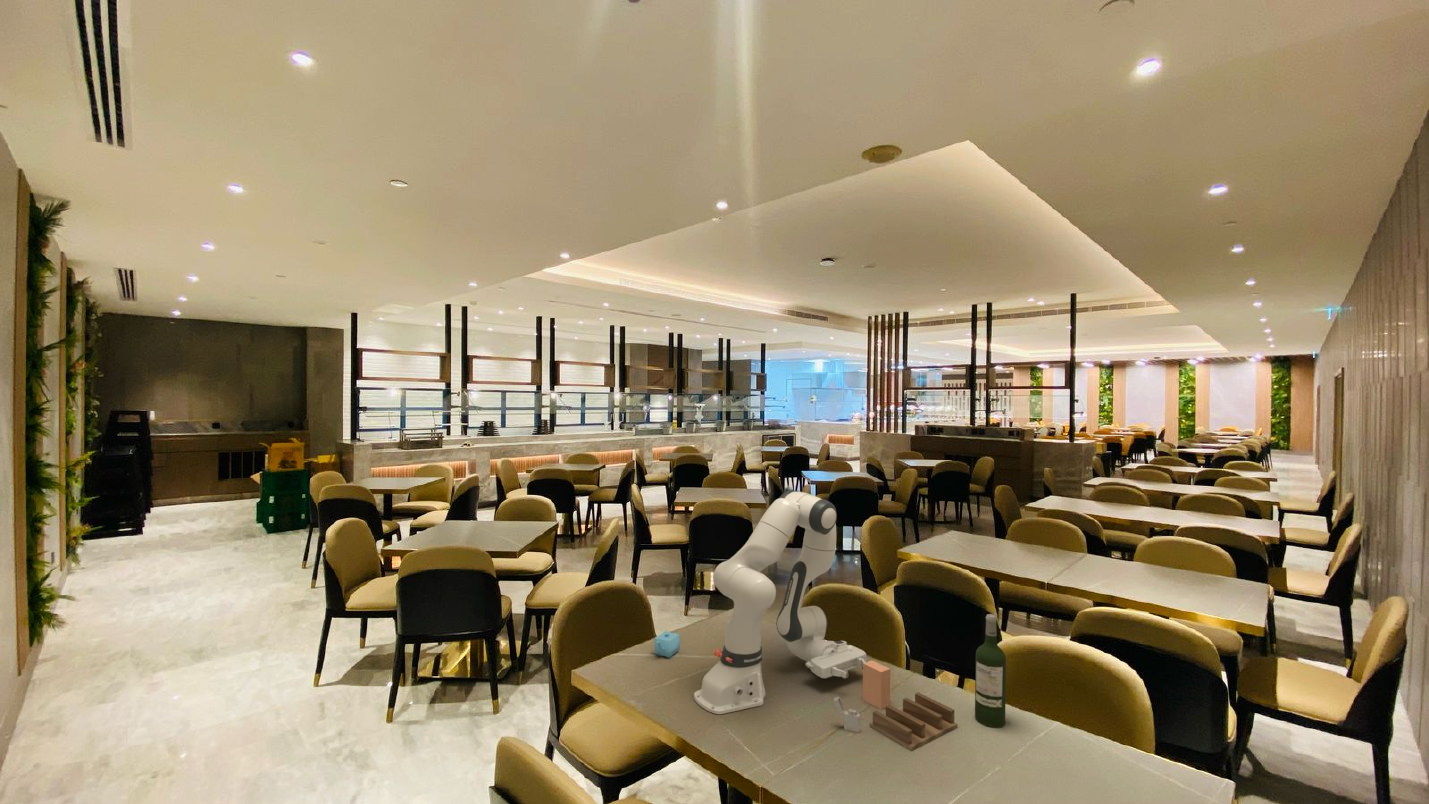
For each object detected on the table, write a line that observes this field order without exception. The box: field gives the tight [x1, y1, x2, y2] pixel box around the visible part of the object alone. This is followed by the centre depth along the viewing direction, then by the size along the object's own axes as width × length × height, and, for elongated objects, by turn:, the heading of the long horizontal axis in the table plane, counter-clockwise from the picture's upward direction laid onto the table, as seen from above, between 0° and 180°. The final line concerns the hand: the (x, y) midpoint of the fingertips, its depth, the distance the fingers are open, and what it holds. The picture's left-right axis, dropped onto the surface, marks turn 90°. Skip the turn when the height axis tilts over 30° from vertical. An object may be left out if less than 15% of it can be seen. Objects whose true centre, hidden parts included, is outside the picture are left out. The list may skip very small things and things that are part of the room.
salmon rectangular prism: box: [862, 659, 891, 710], centre depth 183 cm, size 4×7×11 cm, turn 35°
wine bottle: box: [974, 613, 1007, 729], centre depth 173 cm, size 8×8×30 cm
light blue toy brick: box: [654, 630, 681, 659], centre depth 216 cm, size 12×6×8 cm, turn 153°
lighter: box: [833, 696, 861, 733], centre depth 169 cm, size 7×2×8 cm, turn 66°
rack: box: [869, 692, 958, 752], centre depth 170 cm, size 20×14×4 cm
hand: (857, 671), depth 189 cm, fingers open, 8 cm apart
